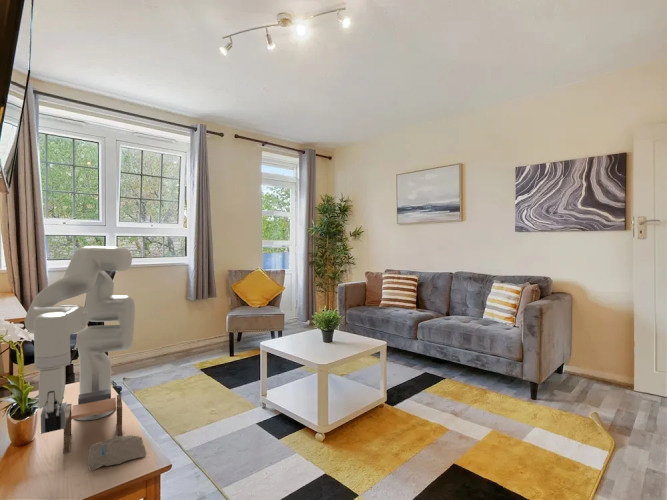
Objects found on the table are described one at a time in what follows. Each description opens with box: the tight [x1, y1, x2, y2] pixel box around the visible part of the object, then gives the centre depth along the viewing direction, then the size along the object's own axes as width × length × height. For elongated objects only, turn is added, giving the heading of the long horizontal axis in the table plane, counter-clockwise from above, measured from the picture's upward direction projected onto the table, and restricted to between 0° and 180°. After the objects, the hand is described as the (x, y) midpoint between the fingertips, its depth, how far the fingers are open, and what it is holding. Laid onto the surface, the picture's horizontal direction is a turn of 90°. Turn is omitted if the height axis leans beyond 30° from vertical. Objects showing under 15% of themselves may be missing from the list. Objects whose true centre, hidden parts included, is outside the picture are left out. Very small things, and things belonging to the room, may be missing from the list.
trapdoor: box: [71, 388, 117, 421], centre depth 116 cm, size 14×12×3 cm
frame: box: [62, 394, 124, 454], centre depth 113 cm, size 10×15×10 cm
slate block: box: [40, 401, 67, 434], centre depth 96 cm, size 5×5×5 cm
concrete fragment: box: [87, 435, 147, 472], centre depth 103 cm, size 7×14×6 cm, turn 118°
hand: (54, 424), depth 96 cm, fingers closed on slate block, 5 cm apart
